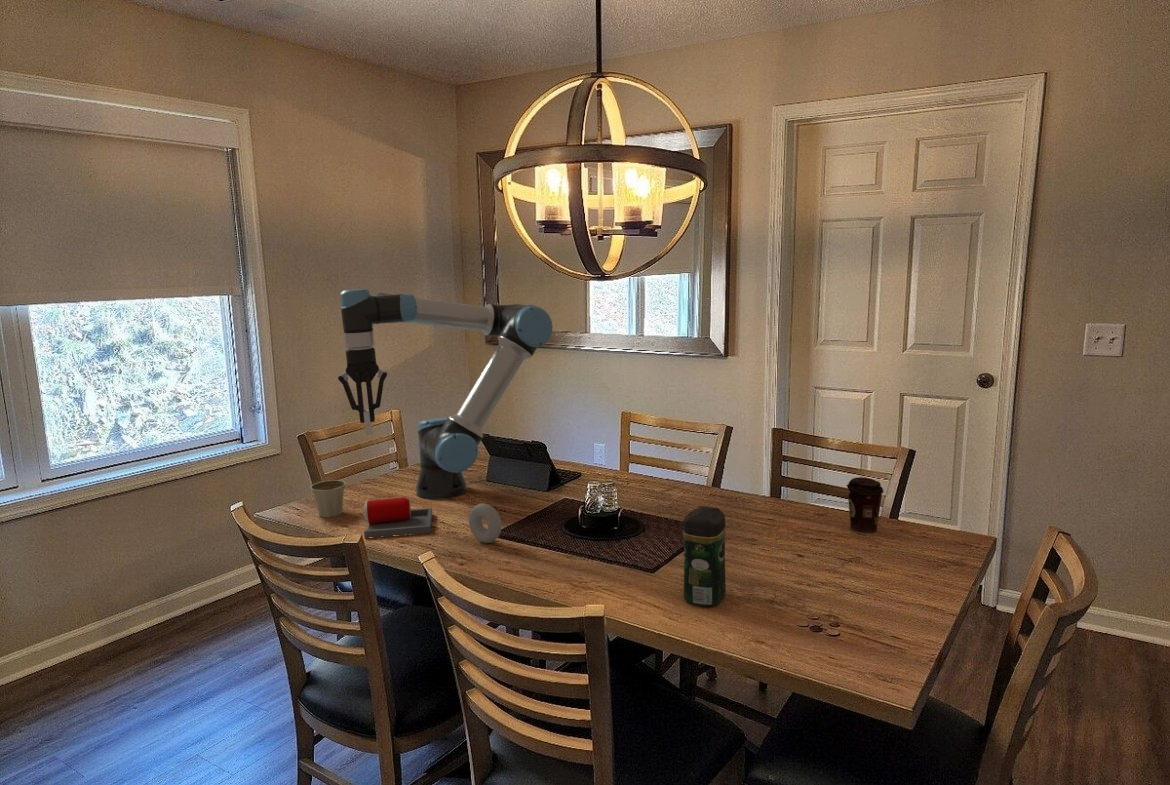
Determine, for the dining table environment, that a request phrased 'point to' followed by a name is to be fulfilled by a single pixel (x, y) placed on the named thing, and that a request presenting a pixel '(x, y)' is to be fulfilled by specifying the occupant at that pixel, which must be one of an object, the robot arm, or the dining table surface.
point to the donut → (492, 521)
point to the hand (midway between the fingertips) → (368, 433)
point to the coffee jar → (704, 556)
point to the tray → (403, 525)
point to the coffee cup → (864, 505)
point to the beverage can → (387, 510)
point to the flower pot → (329, 497)
